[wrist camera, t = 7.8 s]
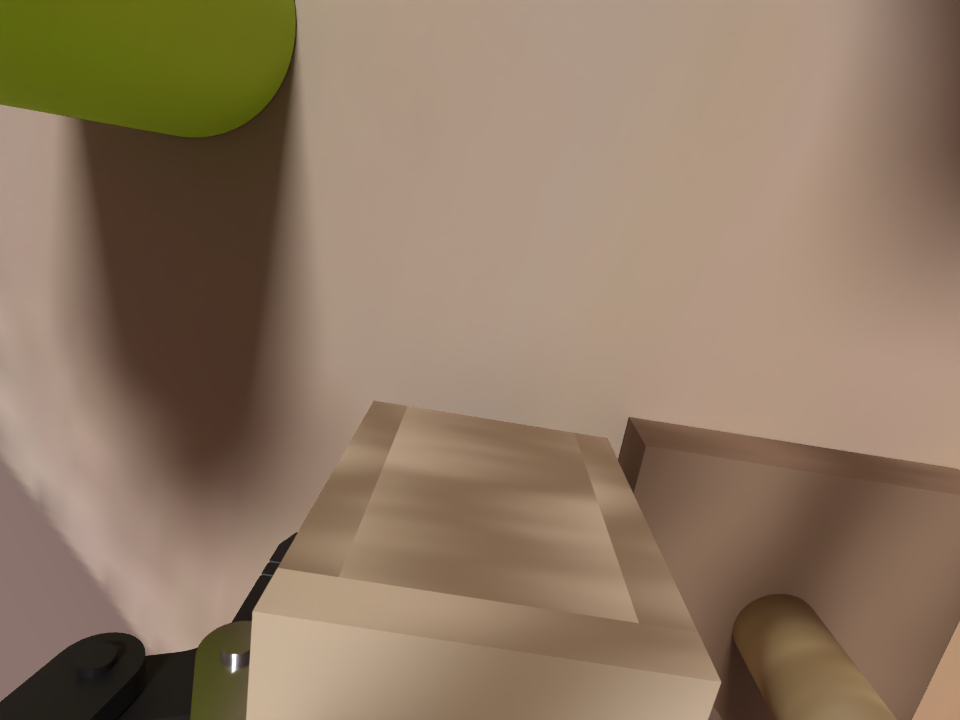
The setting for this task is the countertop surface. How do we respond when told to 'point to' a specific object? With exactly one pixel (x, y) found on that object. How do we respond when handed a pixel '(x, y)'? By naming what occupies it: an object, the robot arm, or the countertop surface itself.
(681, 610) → the beige cube block
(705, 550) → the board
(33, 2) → the soap dispenser
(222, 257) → the countertop surface
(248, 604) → the robot arm
